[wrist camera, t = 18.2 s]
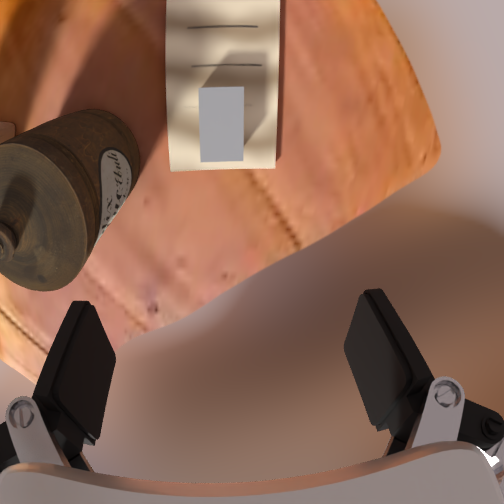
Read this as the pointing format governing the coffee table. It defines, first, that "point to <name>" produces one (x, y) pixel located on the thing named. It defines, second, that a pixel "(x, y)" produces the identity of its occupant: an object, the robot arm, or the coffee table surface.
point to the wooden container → (62, 194)
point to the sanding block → (221, 123)
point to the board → (222, 74)
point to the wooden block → (6, 131)
